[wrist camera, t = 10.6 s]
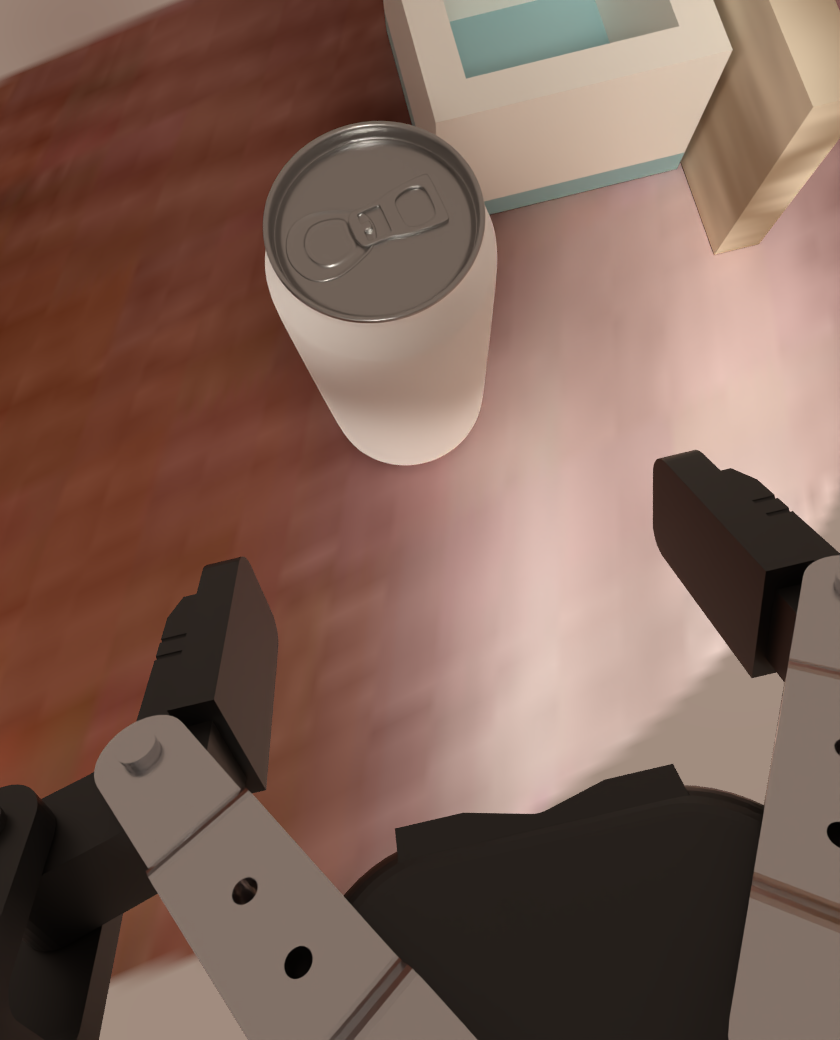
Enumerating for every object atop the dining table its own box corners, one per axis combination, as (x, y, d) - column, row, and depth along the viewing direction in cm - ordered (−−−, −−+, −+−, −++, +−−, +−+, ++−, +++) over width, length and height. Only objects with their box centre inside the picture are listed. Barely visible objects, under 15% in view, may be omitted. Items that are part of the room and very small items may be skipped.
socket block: (439, 226, 29) (435, 122, 23) (386, 29, 31) (370, -112, 26) (676, 168, 29) (732, 49, 23) (607, -25, 31) (643, -179, 26)
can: (311, 360, 29) (210, 163, 17) (446, 304, 29) (440, 68, 17) (366, 492, 27) (299, 379, 16) (507, 432, 27) (546, 275, 16)
